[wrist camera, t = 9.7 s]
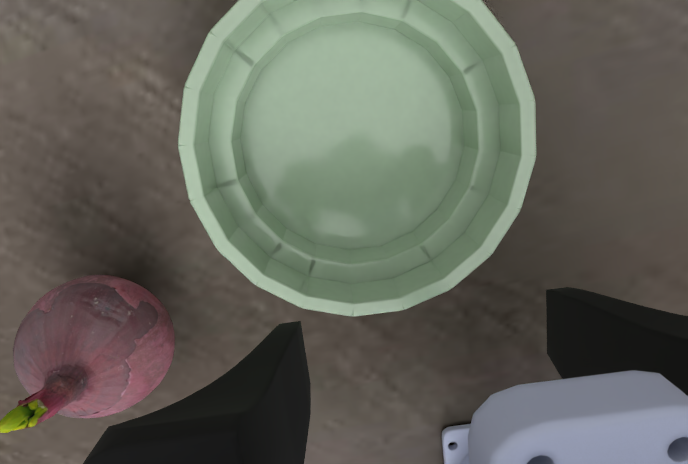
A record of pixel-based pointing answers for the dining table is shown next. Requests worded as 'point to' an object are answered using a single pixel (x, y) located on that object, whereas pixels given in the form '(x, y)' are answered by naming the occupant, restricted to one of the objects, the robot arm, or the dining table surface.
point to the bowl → (357, 146)
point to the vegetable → (90, 350)
